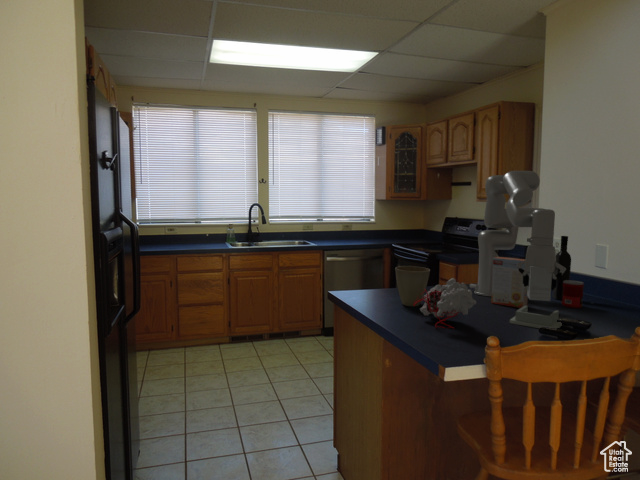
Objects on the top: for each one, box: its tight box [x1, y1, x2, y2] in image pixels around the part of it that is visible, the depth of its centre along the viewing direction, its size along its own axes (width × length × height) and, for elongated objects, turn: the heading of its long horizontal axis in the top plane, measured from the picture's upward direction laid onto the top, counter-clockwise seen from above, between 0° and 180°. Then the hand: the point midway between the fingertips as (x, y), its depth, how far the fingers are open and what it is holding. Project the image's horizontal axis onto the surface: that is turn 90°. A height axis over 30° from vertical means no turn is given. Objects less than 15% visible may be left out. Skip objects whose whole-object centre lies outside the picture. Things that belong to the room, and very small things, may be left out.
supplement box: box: [527, 266, 552, 302], centre depth 173 cm, size 7×7×13 cm
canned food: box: [561, 279, 585, 309], centre depth 203 cm, size 8×8×11 cm
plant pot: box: [394, 265, 431, 307], centre depth 200 cm, size 15×15×16 cm
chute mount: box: [509, 305, 563, 329], centre depth 174 cm, size 16×14×5 cm
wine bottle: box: [552, 235, 572, 301], centre depth 217 cm, size 6×6×30 cm
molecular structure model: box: [412, 277, 477, 330], centre depth 169 cm, size 20×18×25 cm
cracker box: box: [490, 256, 529, 309], centre depth 203 cm, size 14×6×21 cm, turn 47°
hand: (539, 287), depth 173 cm, fingers closed on supplement box, 9 cm apart
